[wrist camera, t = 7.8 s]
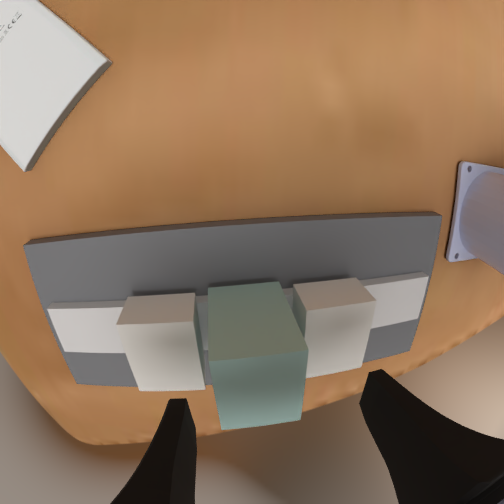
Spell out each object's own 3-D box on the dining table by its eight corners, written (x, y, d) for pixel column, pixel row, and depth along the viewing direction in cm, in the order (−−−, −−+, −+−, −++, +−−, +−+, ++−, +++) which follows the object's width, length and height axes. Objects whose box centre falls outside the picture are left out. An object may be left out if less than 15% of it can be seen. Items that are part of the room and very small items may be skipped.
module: (278, 281, 17) (308, 349, 12) (278, 348, 19) (300, 419, 13) (207, 287, 17) (208, 361, 11) (216, 354, 19) (221, 429, 13)
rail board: (433, 211, 19) (476, 233, 14) (404, 344, 23) (430, 377, 19) (30, 239, 16) (-7, 269, 12) (80, 375, 20) (64, 416, 16)
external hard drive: (35, 169, 15) (-41, 77, 10) (116, 64, 13) (23, -13, 9) (22, 173, 13) (-53, 76, 9) (107, 59, 12) (12, -19, 7)
